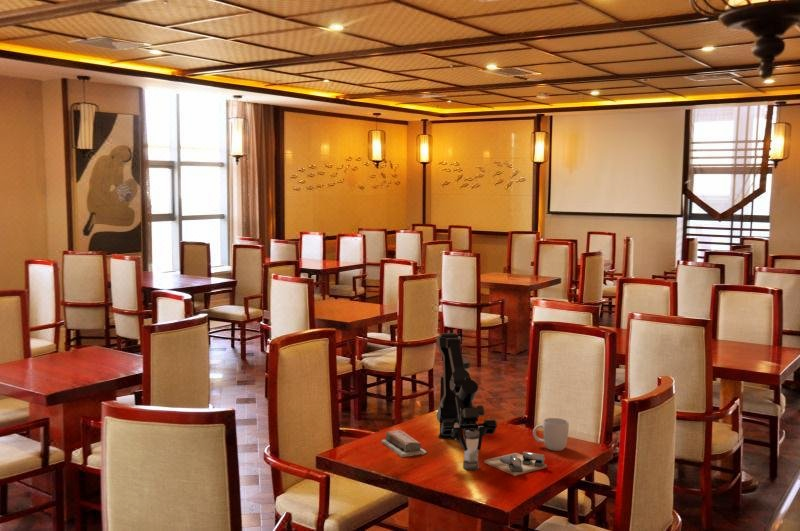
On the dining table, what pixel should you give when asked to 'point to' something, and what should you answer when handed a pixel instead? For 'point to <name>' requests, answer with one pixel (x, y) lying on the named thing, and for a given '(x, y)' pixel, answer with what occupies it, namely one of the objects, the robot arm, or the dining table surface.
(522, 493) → the dining table surface
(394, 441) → the packaged product
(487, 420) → the robot arm
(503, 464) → the board
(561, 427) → the mug
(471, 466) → the drinking glass
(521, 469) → the shaft
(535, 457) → the shaft
